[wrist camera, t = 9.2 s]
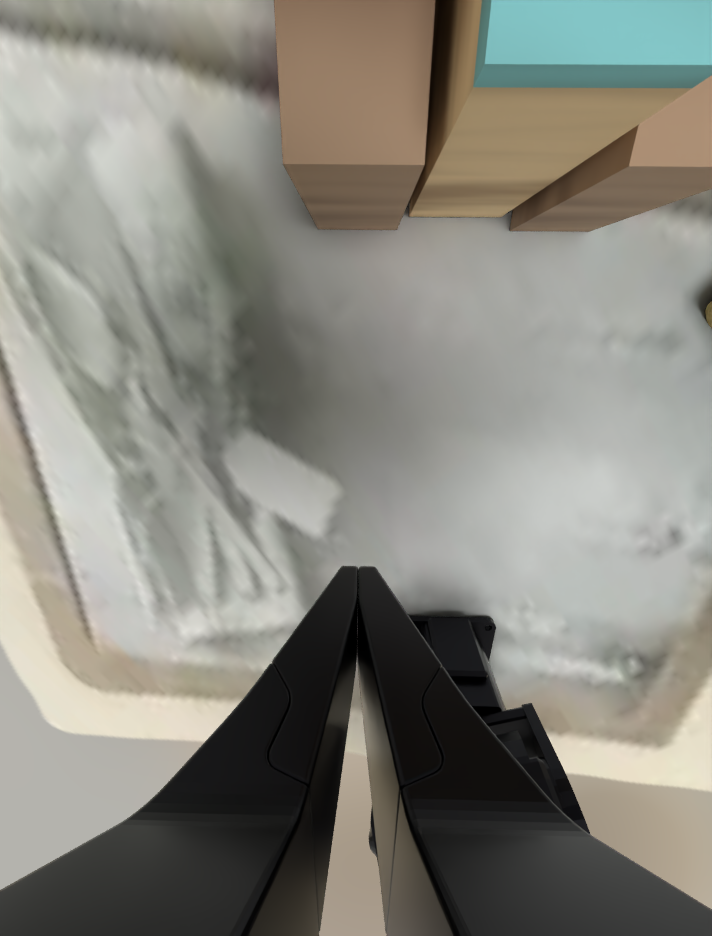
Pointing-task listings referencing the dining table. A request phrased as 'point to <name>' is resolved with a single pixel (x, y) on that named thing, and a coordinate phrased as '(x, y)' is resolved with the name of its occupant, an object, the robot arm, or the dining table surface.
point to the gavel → (709, 314)
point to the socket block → (405, 126)
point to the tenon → (545, 91)
